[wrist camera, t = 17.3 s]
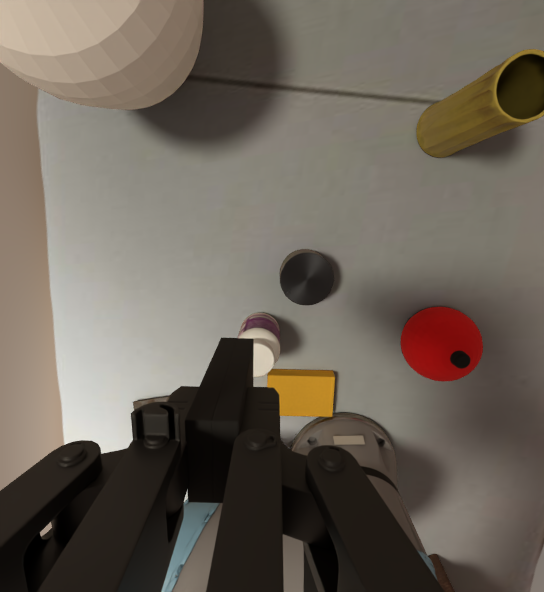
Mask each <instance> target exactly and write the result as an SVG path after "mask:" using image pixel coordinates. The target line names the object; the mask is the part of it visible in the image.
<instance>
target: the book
mask: <svg viewBox="0 0 544 592" xmlns="http://www.w3.org/2000/svg"><path fill="white" fill-rule="evenodd" d="M428 557H429V558H430V560H431V561H432V563H433V566H434V569H435V575H436V577H437V580H438V582H439V584H440V585H441V587H442V588H443V590H444V591H445V592H455V591H454V589H453V587H452V585H451V583H450V581H449V579H448V577H447V574H446V572H445V570H444V568H443V566H442V564H441V562H440V560H439V558H438V556H437V554H433V555H429V556H428Z"/></svg>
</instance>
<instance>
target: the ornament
mask: <svg viewBox="0 0 544 592" xmlns="http://www.w3.org/2000/svg"><path fill="white" fill-rule="evenodd" d="M401 349H402V353H403V355H404V358H405V359H406V361H407V363H408V364H409V365H410V367H411V368H413V369H414V370H415V371H416V372H417V373H419V374H420V375H422V376H424V377H426V378H429V379H432V380H435V381H453V380H457V379H460V378H462V377H464V376H466V375H467V374H469V373H470V372H471V371H472V370H473V369H474V368H475V367H476V366H477V365H478V363H479V361H480V359H481V356H482V352H483V342H482V336H481V334H480V331H479V329H478V328H477V326H476V325H475V323H474V322H473V321H472V320H471V319H470V318H469V317H468V316H466V315H465V314H463V313H461V312H460V311H457V310H454V309H451V308H447V307H431V308H427V309H424V310H422V311H419V312H418V313H416V314H415V315H413V316H412V317H411V318H410V319H409V320H408V322H407V323H406V325H405V326H404V329H403V331H402V335H401Z"/></svg>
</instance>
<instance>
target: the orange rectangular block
mask: <svg viewBox="0 0 544 592" xmlns="http://www.w3.org/2000/svg"><path fill="white" fill-rule="evenodd" d="M334 384H335V376H334V373H333V371H330V370H287V369H271V371H270V372H269V373H268V385H267V387H273V388H275V390H276V391H277V392H278V393H279V402H280V403H279V404H280V416H316V417H332V414H333V399H334Z"/></svg>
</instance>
